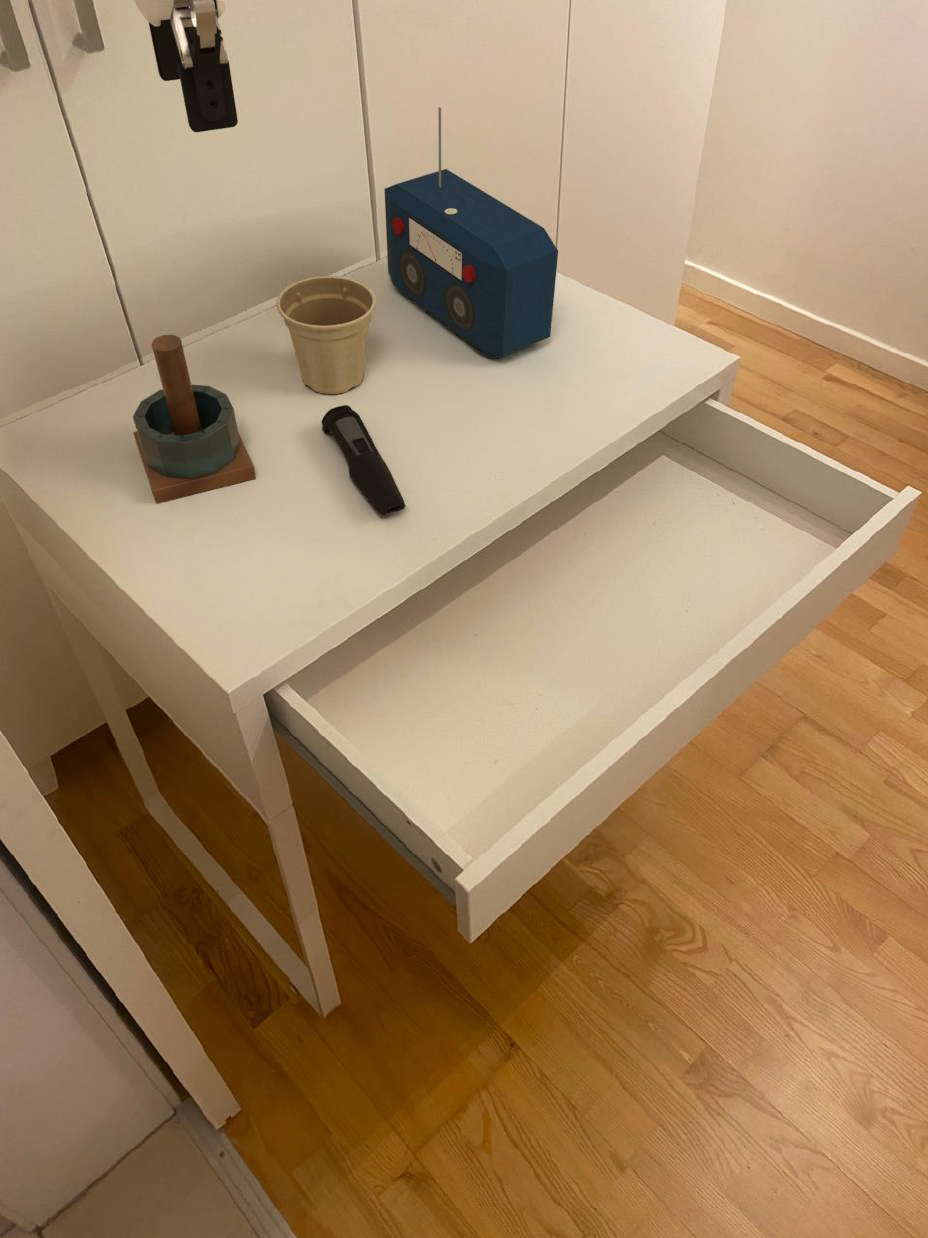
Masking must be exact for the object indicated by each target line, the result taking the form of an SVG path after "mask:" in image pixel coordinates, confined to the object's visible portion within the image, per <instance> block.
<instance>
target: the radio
mask: <svg viewBox="0 0 928 1238" xmlns="http://www.w3.org/2000/svg"><path fill="white" fill-rule="evenodd" d="M437 109H438V110H437V111H438V170H437V171H434V172H431V173H428V174H425V175H421V176H418V177H416V178H412V179H408V180H405V181H402V182H398V183H395V184H392V185H390V186H388V187H385V188H384V189H383V190H384V209H385V210H384V212H385V232H386V252H387V253H386V255H387V256H386V257H387V274H388V275H389V278H390V281H391V282H392V285H394V287H395V288H396V289H397V290H398V292H399V293H401V294H402V295H403V296H404V297H406V298H408V299H409V300H410V301H411V302H412V303H414V304H415V305H416V306H417V307H419V308H421V309H422V310H424V311H425V312H426V313H427V314H428V315H429V316H432V317H433V318H434V319H435V320H437V321H438V322H439V323H441V325H443V326H444V327H445V328H447V329H448V330H450V331H451V332H453V333H454V334H455V335H456V336H458V337H459V338H460V339H462V340H463V341H464V342H466V343H467V344H468V345H470V346H471V347H472V348H474V349H475V350H476V351H478V352H479V353H480V354H482V355H483V356H484V357H486V358H487V359H495V358H496V359H497V358H504V357H506V356H508V355H511V354H513V353H515V352H517V351H520V350H523V349H525V348H527V347H530V346H532V345H535V344H537V343H539V342H541V341H544V340H546V339H548V338H551V331H552V322H553V310H554V303H555V302H554V301H555V290H556V288H555V287H556V280H557V269H558V260H559V259H558V258H559V250H558V248H557V246H556V245H555V243H554V241H553V240H552V239H551V237H550V235H549V234H548V232H547V230H546V229H545V227H543V226H542V225H540V224H538V223H536V222H535V221H534V220H532V219H530V218H528V217H526V216H525V215H523V214H521V213H520V212H518V211H517V210H515V209H513V208H512V207H510V206H509V205H507V204H505V203H504V202H502V201H500V200H498V199H497V198H495V197H494V196H493V195H490V194H489V193H487V192H485V191H483V190H482V189H480V188H479V187H477V186H476V185H474V184H472V183H471V182H469V181H467V180H466V179H464V178H463V177H460V176H459V175H458V174H456V173H454V172H452V171H450V170H449V169H447V168H443V169H442V107H440V106H438V108H437Z"/></svg>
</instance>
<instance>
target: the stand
mask: <svg viewBox="0 0 928 1238" xmlns="http://www.w3.org/2000/svg"><path fill="white" fill-rule="evenodd" d="M151 348H152V352H153V355H154V359H155V364H156V367H157V371H158V375H159V379H160V383H161V387H162V389H163V391H164V395H165V399H166V403H167V407H168V410H169V414H170V418H171V422H172V426H173V430H174V431H173V432H172V433H170V434H169V435H179V436H183V435H187V434H191V433H196V432H200V431H203V430H204V429H206V428H207V427H201V424H200V420H199V415H198V411H197V407H196V402H195V398H194V394H193V389H192V385H193V384H192V381H191V377H190V373H189V368H188V363H187V359H186V355H185V350H184V347H183V341H182V339H181V338H180V337H179V336H178V335H175V334H161V335H160V336H157V337H155V338H154V339H153V340H152V342H151ZM132 434H133V436H134V440H135V443H136V447H137V449H138V453H139V455H140V459H141V463H142V465H143V468H144V471H145V474H146V477H147V481H148V483H149V486H150V489H151V492H152V496H153V499H154V502H155V504H160V503H161V504H162V503H165V502H169V501H172V500H178V499H180V498H185V497H188V496H193V495H196V494H201V493H204V492H209V491H213V490H217V489H221V488H224V487H229V486H232V485H238V484H241V483H244V482H249V481H252V480H256V479H257V477H256V471H255V466H254V464H253V462H252V459H251V457H250V455H249V452H248V450H247V448H246V446H245V443H244V441H243V439H242V437H241V434H240V432H239V431H238V434H239V439H240V447H239V449H238V452H237V454H236V457H235V459H234V460H233V461H231V462H230V463H229V464H227V465H226V466H224V467H223V468H222V469H220V470H219V471H218V472H216V473H212V474H208V475H205V476H201V477H197V478H193V479H185V478H172V477H166V476H164V475H162V474H160V473H158V472H156V471H155V470H153V469H151V468H149V467H148V464H147V462H146V459H145V456H144V454H143V451H142V447H141V444H140V440H139V437H138V434H137V430H136V431H133V432H132Z"/></svg>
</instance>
